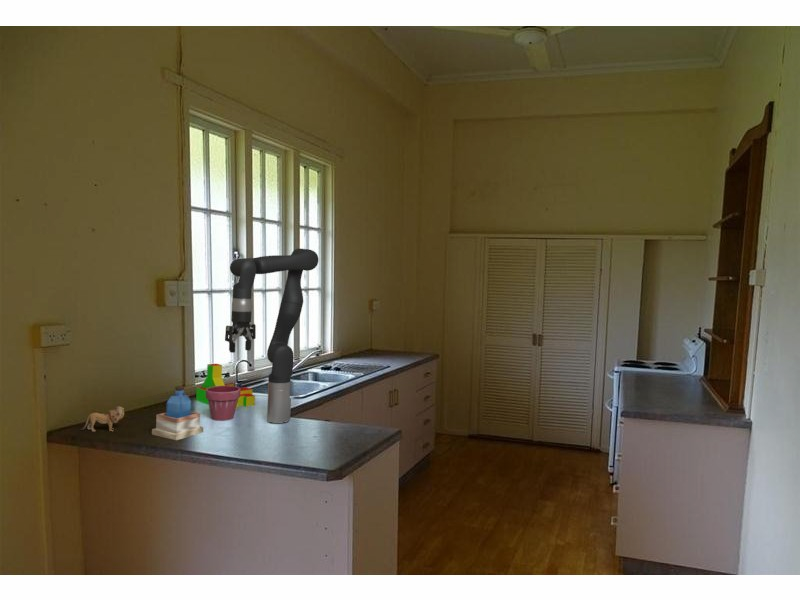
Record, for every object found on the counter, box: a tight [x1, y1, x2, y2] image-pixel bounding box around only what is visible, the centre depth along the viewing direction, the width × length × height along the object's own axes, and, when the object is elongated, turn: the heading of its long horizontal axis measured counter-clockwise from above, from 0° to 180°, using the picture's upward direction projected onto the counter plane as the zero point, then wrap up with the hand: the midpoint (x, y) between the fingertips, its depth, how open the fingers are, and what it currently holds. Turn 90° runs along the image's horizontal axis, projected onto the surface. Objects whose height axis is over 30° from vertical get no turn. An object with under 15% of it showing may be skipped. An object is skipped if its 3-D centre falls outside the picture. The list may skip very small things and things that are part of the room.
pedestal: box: [151, 411, 204, 441], centre depth 209 cm, size 13×13×8 cm
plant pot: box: [206, 385, 241, 421], centre depth 234 cm, size 14×14×13 cm
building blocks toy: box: [195, 363, 256, 409], centre depth 262 cm, size 19×25×18 cm
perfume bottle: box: [166, 385, 192, 418], centre depth 209 cm, size 6×6×12 cm
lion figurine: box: [80, 406, 125, 433], centre depth 209 cm, size 15×5×9 cm, turn 109°
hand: (240, 351), depth 213 cm, fingers open, 8 cm apart
